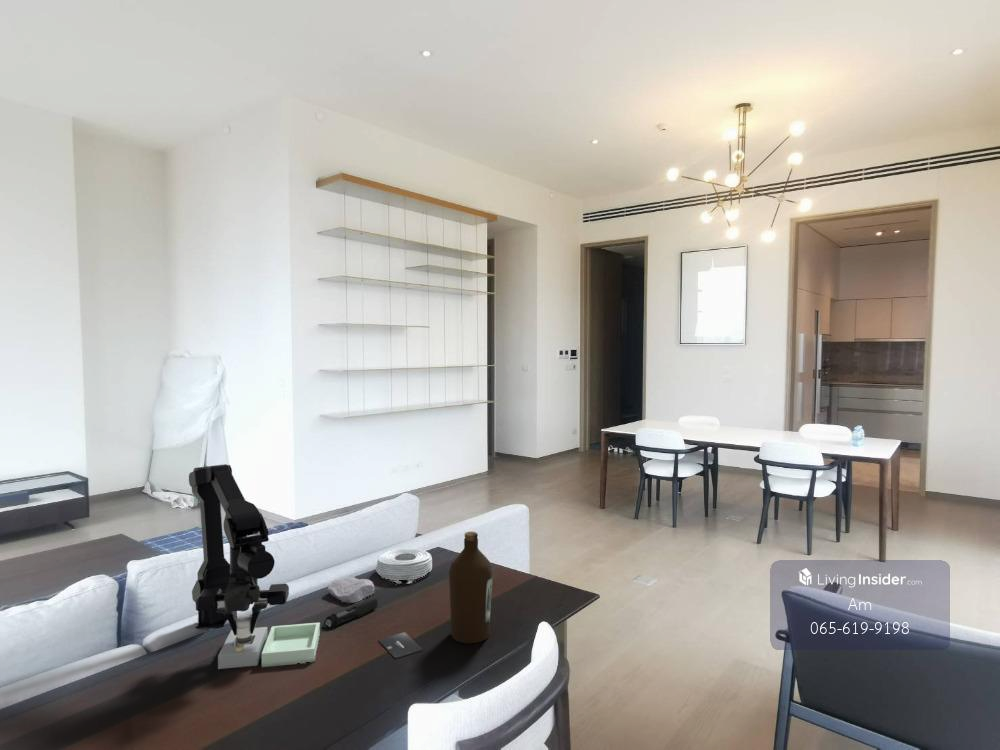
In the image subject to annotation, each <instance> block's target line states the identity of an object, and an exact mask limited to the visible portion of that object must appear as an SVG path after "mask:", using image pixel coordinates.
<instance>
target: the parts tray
mask: <svg viewBox="0 0 1000 750" xmlns="http://www.w3.org/2000/svg"><path fill="white" fill-rule="evenodd" d="M320 634H321V622H310V623H309V622H308V623H296V624H286V625H285V624H284V625H274V626H271V628H270V631H269V634H268V638H267V641H266V643H265V646H264V649H263V651H262V655H261V668H267V667H268V668H269V667H278V666H279V667H281V666H285V665H286V666H288V665H298V664H297V663H300V664H307V663H306V662H311V663H315V661H316V656H317V652H318V651H317V650H318V645H319V642H320V641H319V640H320V637H319V636H321V635H320ZM318 641H319V642H318ZM316 651H317V652H316Z"/></svg>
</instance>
